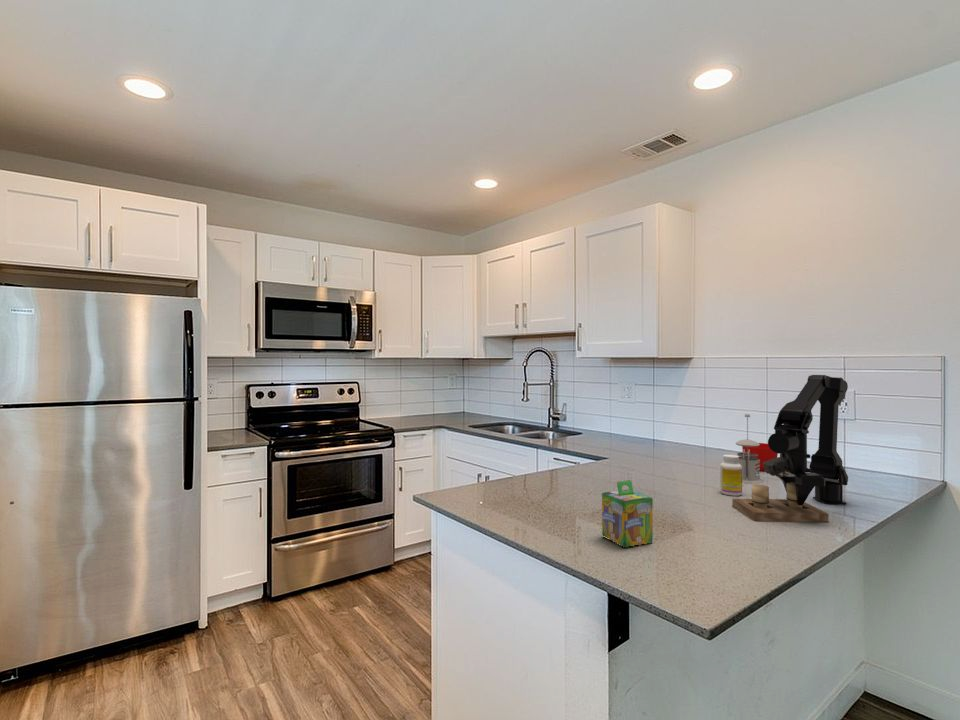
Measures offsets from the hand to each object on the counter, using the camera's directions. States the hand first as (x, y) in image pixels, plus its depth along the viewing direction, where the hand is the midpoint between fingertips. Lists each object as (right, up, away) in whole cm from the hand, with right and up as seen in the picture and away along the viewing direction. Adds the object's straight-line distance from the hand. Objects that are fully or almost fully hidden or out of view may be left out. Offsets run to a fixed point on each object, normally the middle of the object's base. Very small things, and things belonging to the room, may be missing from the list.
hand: (795, 502), depth 146 cm
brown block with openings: (-5, -3, 0) cm, 6 cm away
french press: (+8, -4, +40) cm, 41 cm away
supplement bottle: (-8, -4, +22) cm, 24 cm away
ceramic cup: (+25, -3, +59) cm, 65 cm away
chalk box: (-56, -4, -20) cm, 59 cm away
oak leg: (0, -3, 0) cm, 3 cm away
